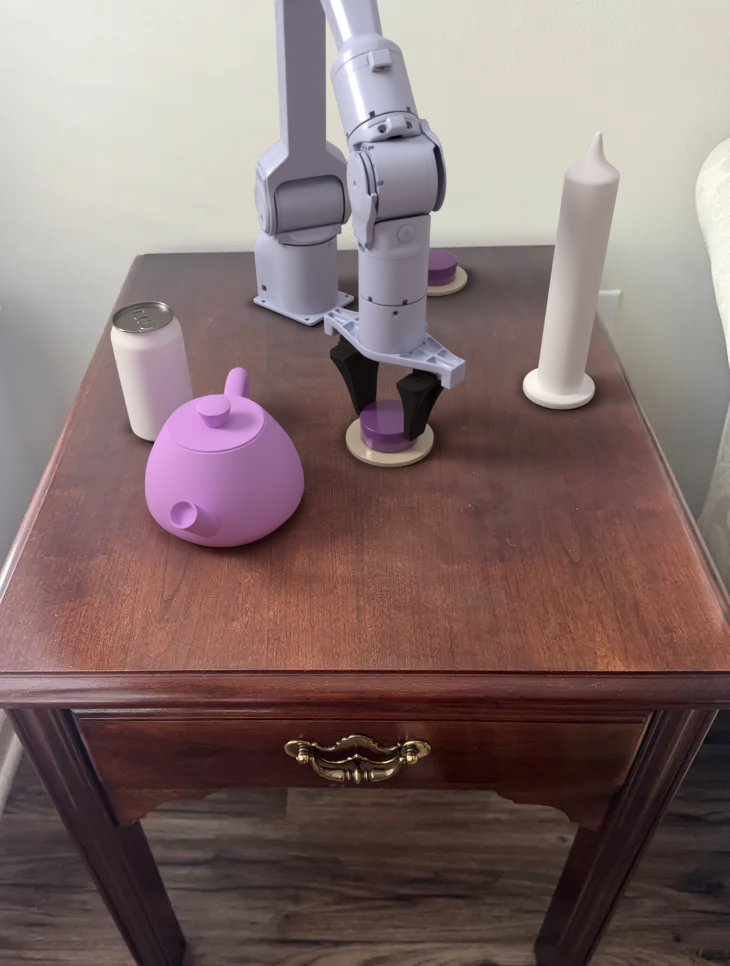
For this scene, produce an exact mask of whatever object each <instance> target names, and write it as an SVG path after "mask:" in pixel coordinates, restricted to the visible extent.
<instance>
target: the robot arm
mask: <svg viewBox="0 0 730 966" xmlns="http://www.w3.org/2000/svg"><path fill="white" fill-rule="evenodd" d="M273 3H274V23H275V43H276V44H275V47H276V64H277V65H276V68H277V69H276V71H277V90H278V94H277V95H278V112H279V113H278V115H279V116H278V117H279V137H280V138H279V140H277V141H276V142H275V143H274V144H273V145H271V146H270V147H269V148H268V149H266V150H265V151H264V152H263V153H262V154H261V155H260V156H258V158H256V165H255V182H254V184H253V185H254V186H253V190H254V191H253V193H254V194H253V195H254V196H253V197H254V204H255V210H256V211H255V212H256V215H257V219H258V223H259V226H260V228H261V229H260V230H259V231H258V234H257V236H256V239H255V242H254V248H253V253H254V265H255V275H256V285H257V296H255V297H254V298H253V303H254V304H256V305H258V306H260V307H263V308H266V309H268V310H271V311H273V312H274V313H278V314H280V315H282V316H284V317H287V318H289V319H290V320H291V319H292V320H293V321H296V322H299V323H301V324H303V325H306V326H309V327H312V326H315V325H317V324H318V323H320V322H321V321H323V327H324V328H323V329H324V334H326V335H328V336H330V337H335V336H336V335H339V340H338V342H337V345H335V346H333V347H331V349H330V350H329V359H330V360H331V361H332V362H333V365H335V367H336V369H337V370H338V371H339V373H340V375H341V377H342V380H343V381H344V383H345V385H346V388H347V391H348V393H349V397H350V399H351V402H352V403H351V404H352V406H353V409H354V412H355V415H357V416H358V417H360V414H361V411H362V410H363V409H364V408H365V407H366V406H367V405H369V404H370V403H373V402H375V401H377V395H378V374H379V367H380V363H384V364H390V365H394V366H398V367H399V366H400V367H404V368H405V367H406V368H409V369H412V372H411V373H410V372H409V374H407V375H405V376H404V377H402V378H401V379H399V380H398V381H397V382H396V383H395V387H396V389H397V391H398V394H399V397H400V401H402V405H403V412H404V436H405V439H406V440H408V441H410V442H412V441H413V440H415V439H416V438H417V437H419V436H420V435H422V434H423V433H424V431H425V428H426V425H427V424H428V422H429V419H430V416H431V413H432V411H433V409H434V407H435V404H436V403H437V400H438V398H439V397H440V395H441V394H442V392H443V390H444V389H447V390H452V389H454V388H456V387H457V386H458V385H460V384H461V383H462V382H463V381H465V377H466V364H467V361H466V360H465V359H463V358H460V357H459V356H457V355H455V354H454V353H452V352H451V351H450V350H448V348H446V347H445V346H444V345H443V344H441V343H440V342H439V341H438V340H436V338H435V337H433V336H432V335H431V334H430V333H428V332H427V330H428V321H427V320H426V319H427V303H428V302H427V301H428V299H427V298H428V296H427V284H428V265H429V249H430V245H431V244H430V242H431V225H432V224H431V223H432V215H431V212H434V213H436V212H437V213H438V212H439V211H440V210H441V208H442V207H443V205H444V202H445V198H446V193H447V165H446V160H445V159H446V158H445V155H444V151H443V146H442V143H441V140H440V139H439V137H438V135H437V134H436V133H435V132H434V131H433V130H432V129H431V126H430V124H429V121H428V120H427V119H426V118H421V117H419V113H418V109H417V105H416V102H415V98H414V97H415V96H414V93H413V90H412V86H411V82H410V78H409V75H408V70H407V67H406V62H405V58H404V54H403V51H402V49H401V47H400V46H399V45H398V44H397V43H395V42H394V41H393V40H390V39H388V38H387V37H384V35H383V30H382V23H381V18H380V11H379V6H378V0H273ZM327 23H328V27H329V29H330V32H331V34H332V37H333V40H334V43H335V46H336V49H337V51H338V53H337V55H336V57H335V59H334V61H333V63H332V64H331V67H330V72H329V78H330V81H331V85H332V90H333V92H334V97H335V101H336V105H337V109H338V112H339V116H340V120H341V125H342V128H343V129H342V130H343V133H344V137H345V140H346V145H347V148H348V152H349V155H348V158H346V156H345V155H344V153H343V151H342V150H341V149H340V148H339V147H338V146H337V145H335V144H333V143H332V142H330V141H329V140H327ZM350 218H351V226H352V232H353V236H354V237H355V238H356V239H357V246H358V247H357V252H358V254H357V256H358V257H357V261H358V311H354V310H349V309H345V308H344V307H347V306H348V305H350V304H351V303H352V302H354V301H355V296H353V295H351V294H349V293H346V292H344V291H340V290H339V264H338V263H339V262H338V259H339V258H338V235H342V233H343V231H342V225H343V226H344V225H346V224H348V223H349V222H348V221H349V220H350Z"/></svg>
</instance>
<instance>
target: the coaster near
mask: <svg viewBox="0 0 730 966" xmlns="http://www.w3.org/2000/svg"><path fill="white" fill-rule="evenodd" d="M434 438H435V436H434V432H433V429H432V427H431V426H430V425H429V424H428V423H427V425H426V428H425V431H424V433H423V434H422V435H420V436H419V437H418V440H417V441H416V443H415V444H414V445H413V446H412V447H410V448H408V449H406V450H403V451H400V452H393V453H386V452H379V451H376V450H373V449H371V448H369V447H367V446H366V445H365V444H364V443H363V442H362V440H361V438H360V417H358V418H357V419H355V420H354V421H353V422H351V424H350V425H349V426H348V427H347V430H346V432H345V444H346V448H347V449H348V451H349V452H350V454H351V455H352V456H353V457H355V458H356V459H357V460H359V461H361V462H363V463H365V464H368V465H371V466H375V467H380V468H397V467H398V468H400V467H405V466H409V465H412V464H415V463H417V462H419V461H421V460H422V459H424V458H425V457H426V456H427V455H428V454H430V452H431V450H432V449H433V446H434Z"/></svg>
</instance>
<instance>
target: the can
mask: <svg viewBox="0 0 730 966" xmlns="http://www.w3.org/2000/svg"><path fill="white" fill-rule="evenodd" d="M110 321H111V325H112V327H111V331H110V341H111V342H110V343H111V346H112V350H113V351H112V352H113V356H114V359H115V360H114V361H115V365H116V368H117V372H118V377H119V381H120V385H121V390H122V394H123V398H124V402H125V407H126V411H127V416H128V420H129V423H130V427H131V430H132V432H133V433H134V434H135V435H136V436H137V437H139V438H141V439H142V440H144V441H147V442H150V443H155V441H156V439H157V437H158V435H159V433H160V431H161V429H162V428H163V426H164V424H165V423H166V421H167V420H168V418H169V417H170V416H171V414H172V413H173V412H174V411H175V410H176V409H178V408H179V407H180V406H182V405H183V404H185V403H187V402H189V401H191V400H194V395H193V388H192V382H191V377H190V371H189V365H188V358H187V353H186V347H185V346H186V345H185V341H184V336H183V330H182V326H181V324H180V322H179V321H178V319H177V318H176V316H175V311H174V309H173V308H172V306H170V305H169V304H167V303H164V302H162V301H155V300H142V301H136V302H132V303H128V304H126V305H124V306H122V307H120V308H119V309H117V310H116V311H115V312H114V313H113V314H112V316H111V320H110Z"/></svg>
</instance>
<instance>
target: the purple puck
mask: <svg viewBox="0 0 730 966" xmlns="http://www.w3.org/2000/svg"><path fill="white" fill-rule="evenodd" d="M359 418H360V438H361V440H362V442H363V443H364V444H365V445H366V446H367V447H369V448H371V449H373V450H376V451H379V452H386V453H393V452H400V451H403V450H406V449H408V448H410V447H412V446H413V445H414V444H415V443H416V441H417V440H418V437H417V438H416V439H415V440H413V441H412V442H410V441H408V440H406V439H405V436H404V412H403V405H402V400H401V399H394V398H393V399H392V398H391V399H390V398H389V399H380V400H376V401H375V402H373V403H370V404H369V405H367V406H366V407H365V408H364V409H363V410H362V411H361V414H360V416H359Z"/></svg>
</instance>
